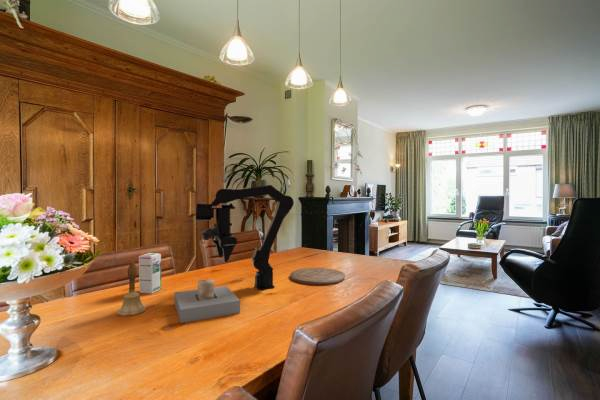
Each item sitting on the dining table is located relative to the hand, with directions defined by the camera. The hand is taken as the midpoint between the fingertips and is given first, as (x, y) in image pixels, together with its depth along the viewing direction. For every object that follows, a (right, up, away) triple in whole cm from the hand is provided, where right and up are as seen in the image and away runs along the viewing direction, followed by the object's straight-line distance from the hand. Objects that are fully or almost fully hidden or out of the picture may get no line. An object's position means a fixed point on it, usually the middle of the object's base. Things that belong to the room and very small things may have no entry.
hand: (223, 259), depth 125 cm
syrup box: (-28, -12, -2) cm, 30 cm away
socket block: (-1, -12, -20) cm, 24 cm away
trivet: (+39, -12, +19) cm, 45 cm away
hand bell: (-24, -13, -23) cm, 36 cm away
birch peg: (-1, -13, -20) cm, 24 cm away
